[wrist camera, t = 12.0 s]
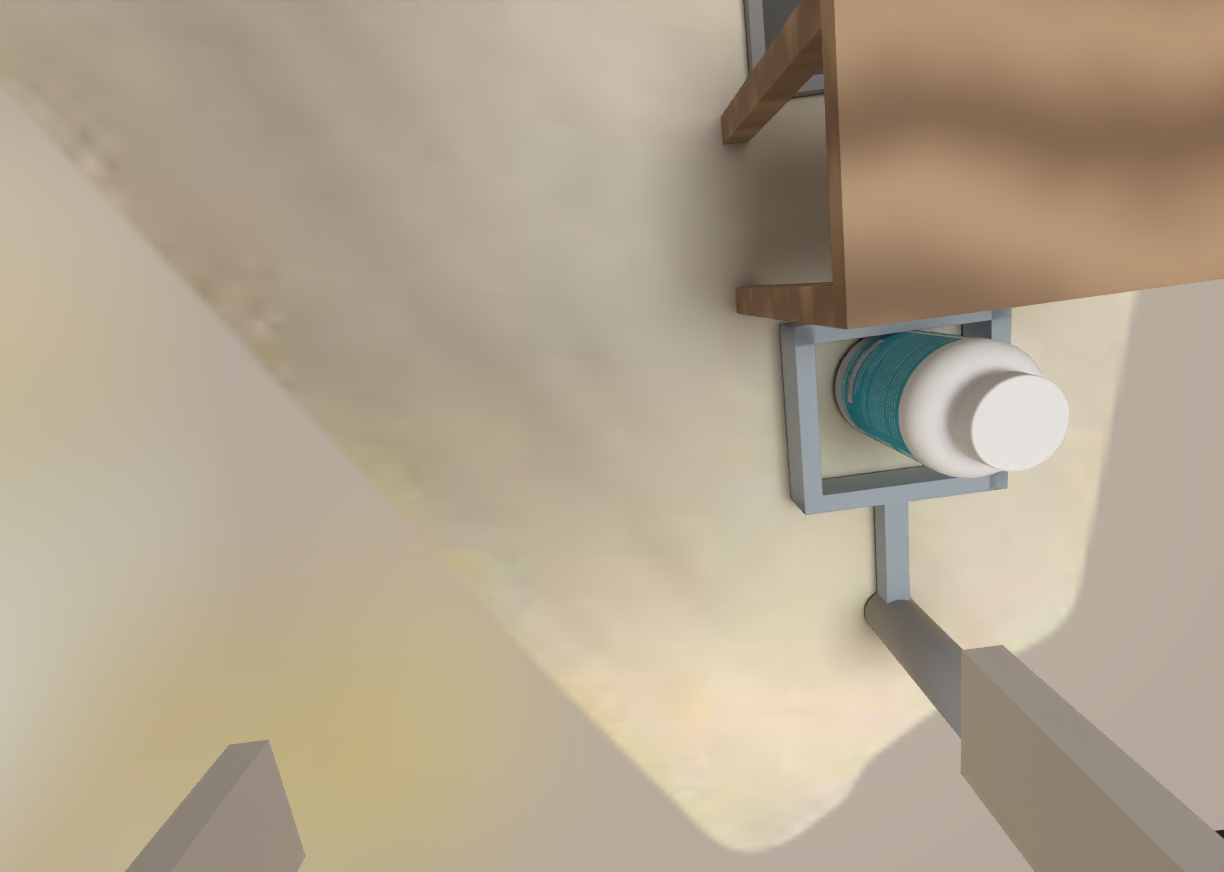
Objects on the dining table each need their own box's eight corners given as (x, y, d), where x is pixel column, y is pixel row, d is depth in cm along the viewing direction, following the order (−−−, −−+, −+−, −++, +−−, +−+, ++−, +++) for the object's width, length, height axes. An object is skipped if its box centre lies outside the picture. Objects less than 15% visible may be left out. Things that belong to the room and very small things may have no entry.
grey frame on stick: (779, 324, 40) (863, 339, 27) (981, 297, 40) (1160, 299, 27) (801, 643, 45) (878, 779, 33) (977, 620, 45) (1124, 748, 32)
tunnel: (721, 116, 37) (832, -46, 19) (1025, 73, 37) (1422, -131, 19) (737, 313, 40) (847, 329, 22) (1020, 274, 39) (1362, 259, 22)
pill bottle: (835, 443, 42) (942, 511, 29) (826, 338, 40) (935, 360, 27) (941, 425, 42) (1098, 485, 29) (937, 318, 40) (1101, 331, 27)
